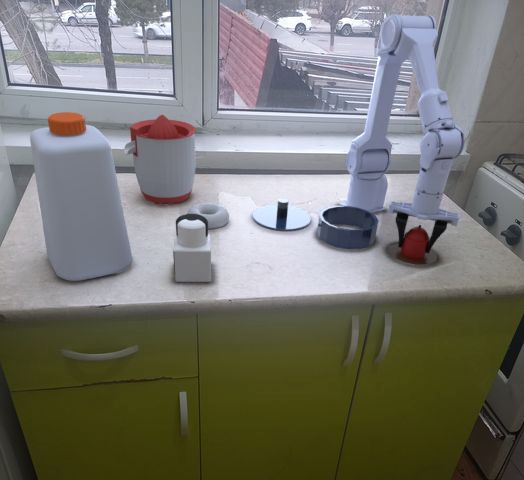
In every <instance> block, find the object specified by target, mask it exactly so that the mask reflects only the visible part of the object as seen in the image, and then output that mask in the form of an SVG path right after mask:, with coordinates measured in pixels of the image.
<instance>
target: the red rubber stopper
mask: <svg viewBox="0 0 524 480" xmlns="http://www.w3.org/2000/svg"><path fill="white" fill-rule="evenodd" d="M429 240H430V236H429V235H428V232H427V230H426V229H425V228H423V227H422V225H421V224H419V225H418V226H413V227H412V228H410V229H409V230H408V231H405V234H404V240H403V244H402V248H401V253H402V254H403V255H405V256H407V257H410V258H422V257H424V256H425V253H426V250H427V246H428V243H429Z"/></svg>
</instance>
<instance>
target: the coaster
mask: <svg viewBox="0 0 524 480" xmlns="http://www.w3.org/2000/svg"><path fill="white" fill-rule="evenodd" d="M398 246H399V242H396V243H392V244H389V246H388V247H387V252H388V253H389V254H390V255H391V257H393V258H394V259H396V260H398V261H400V262H402V263H406V264H410V265H415V266H416V265H417V266H426V265H431V264H433V263H435V262H436V261H437V260H438V254H437V253H436V251H435V250H434V249H432V248H431V250H430V252H429V253H425V256H424V257H422V258H410V257H407V256H405V255H403V254H402V253H401V248H402V247H401V248H400V247H398Z"/></svg>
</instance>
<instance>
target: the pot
mask: <svg viewBox="0 0 524 480" xmlns="http://www.w3.org/2000/svg"><path fill="white" fill-rule="evenodd" d="M336 225H347V226H352V227H356V228H359V229H349V228H345V227H339V226H336ZM378 226H379V219H378V217H377V216H376V215H375V214H374V213H373V212H371V213H370V212H369V211H367V210H364V209H361V208H358V207H351V206H342V205H333V206H328V207H325V208H324V209H322V210H320V212H319V215H318V222H317V229H316V235H317V236H318V237H317V238H318V239H319V240H321V241H322V242H324V243H325V244H327V245H329V246H332V247H334V248H338V249H343V250H362V249H365V248H370V246H372V245H373V244H374V243H375V239H376V236H377V231H378Z"/></svg>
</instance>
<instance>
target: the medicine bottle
mask: <svg viewBox="0 0 524 480" xmlns="http://www.w3.org/2000/svg"><path fill="white" fill-rule="evenodd" d="M172 255H173V256H172V257H173V273H174V274H173V275H174V282H175V283H210V282H212V235H211V234H210V233H209V229H208V220H207V219H206V218H205V217H204V216H202V215H198V214H187V213H185V214H182V215H180V216H178V217H177V218H176V220H175V234H174V239H173V249H172Z"/></svg>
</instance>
